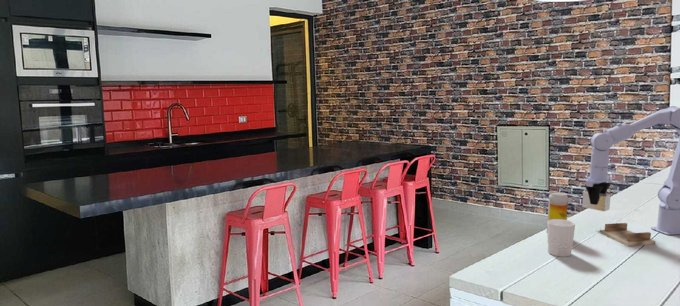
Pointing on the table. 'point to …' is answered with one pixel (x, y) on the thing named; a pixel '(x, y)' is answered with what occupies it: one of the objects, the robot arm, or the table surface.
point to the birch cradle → (626, 235)
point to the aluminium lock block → (602, 202)
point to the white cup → (560, 237)
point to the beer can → (557, 206)
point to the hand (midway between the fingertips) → (596, 203)
